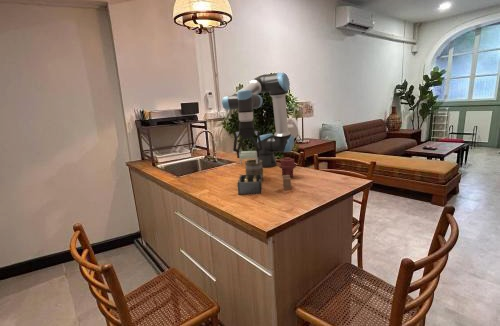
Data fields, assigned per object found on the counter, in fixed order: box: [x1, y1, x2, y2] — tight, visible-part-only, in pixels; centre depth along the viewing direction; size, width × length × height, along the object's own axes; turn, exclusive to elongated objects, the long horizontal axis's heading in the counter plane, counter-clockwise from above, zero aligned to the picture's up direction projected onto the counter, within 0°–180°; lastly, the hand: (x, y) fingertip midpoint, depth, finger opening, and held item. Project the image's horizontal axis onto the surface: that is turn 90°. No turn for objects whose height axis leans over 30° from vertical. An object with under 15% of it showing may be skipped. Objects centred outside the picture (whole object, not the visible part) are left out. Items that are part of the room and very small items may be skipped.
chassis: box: [236, 174, 263, 196], centre depth 148 cm, size 16×12×6 cm
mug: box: [244, 158, 264, 182], centre depth 167 cm, size 16×11×12 cm
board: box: [240, 150, 257, 160], centre depth 144 cm, size 12×8×2 cm, turn 177°
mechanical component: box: [278, 156, 296, 179], centre depth 166 cm, size 12×10×10 cm
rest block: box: [282, 175, 292, 191], centre depth 148 cm, size 8×4×6 cm, turn 177°
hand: (248, 163), depth 145 cm, fingers closed on board, 8 cm apart
